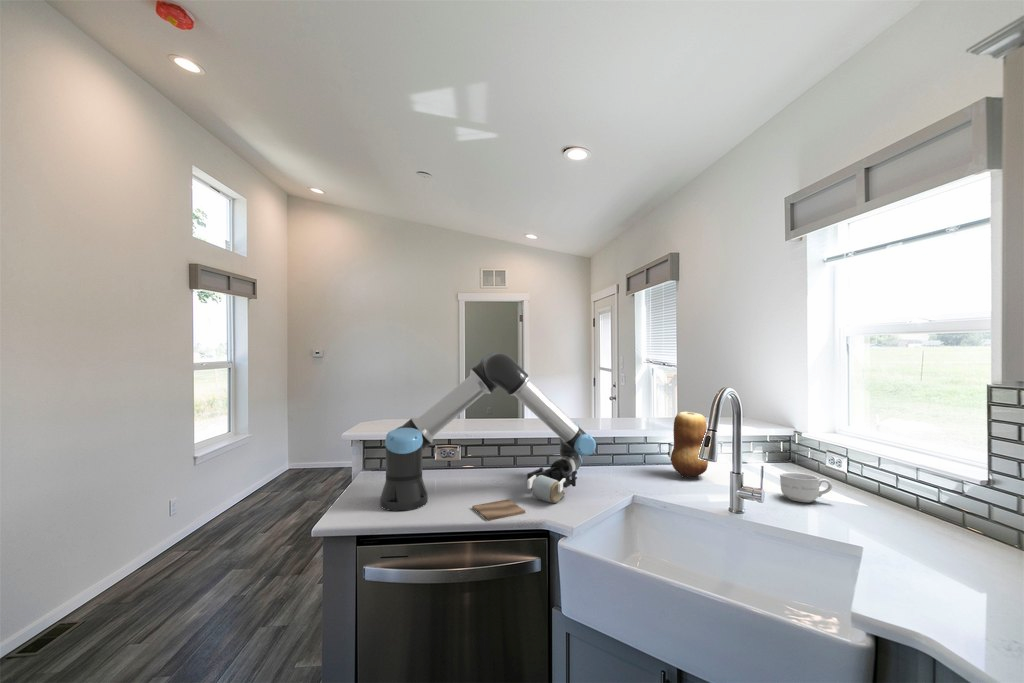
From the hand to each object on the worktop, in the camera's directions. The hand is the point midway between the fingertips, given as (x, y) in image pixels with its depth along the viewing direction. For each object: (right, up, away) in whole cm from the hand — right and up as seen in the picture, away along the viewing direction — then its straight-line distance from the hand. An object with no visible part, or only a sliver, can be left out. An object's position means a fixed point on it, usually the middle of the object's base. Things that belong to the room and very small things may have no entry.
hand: (543, 486), depth 137 cm
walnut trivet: (-14, -6, -4) cm, 16 cm away
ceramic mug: (+2, -6, +5) cm, 9 cm away
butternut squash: (+59, -7, +30) cm, 67 cm away
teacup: (+85, -6, +2) cm, 85 cm away
